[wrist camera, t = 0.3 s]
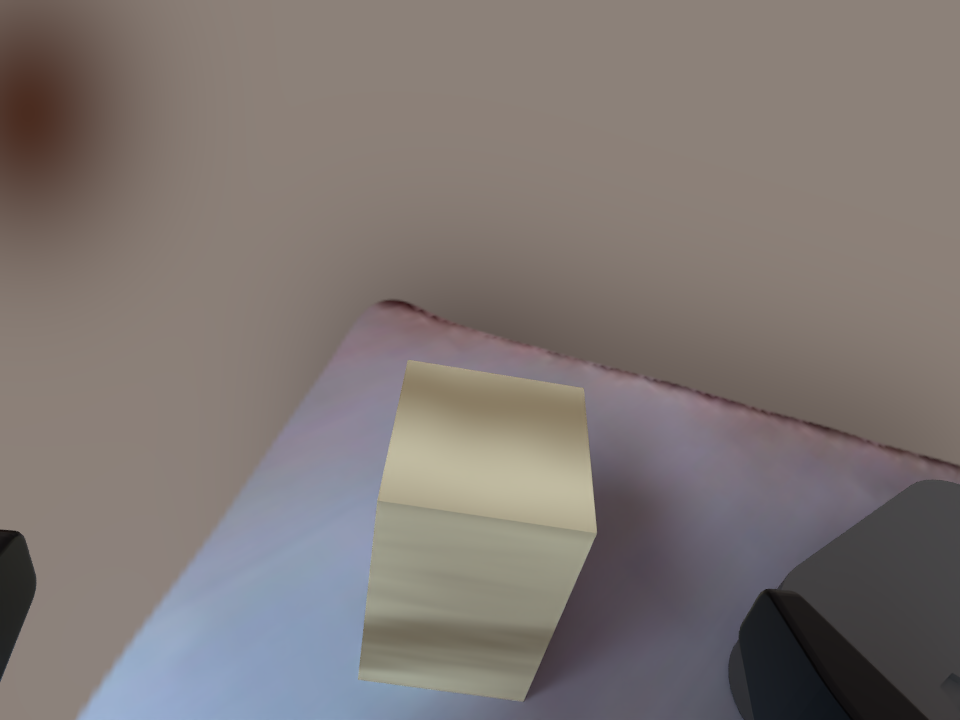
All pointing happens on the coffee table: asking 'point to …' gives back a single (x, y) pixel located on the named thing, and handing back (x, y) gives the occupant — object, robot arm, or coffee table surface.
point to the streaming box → (892, 596)
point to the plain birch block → (476, 531)
